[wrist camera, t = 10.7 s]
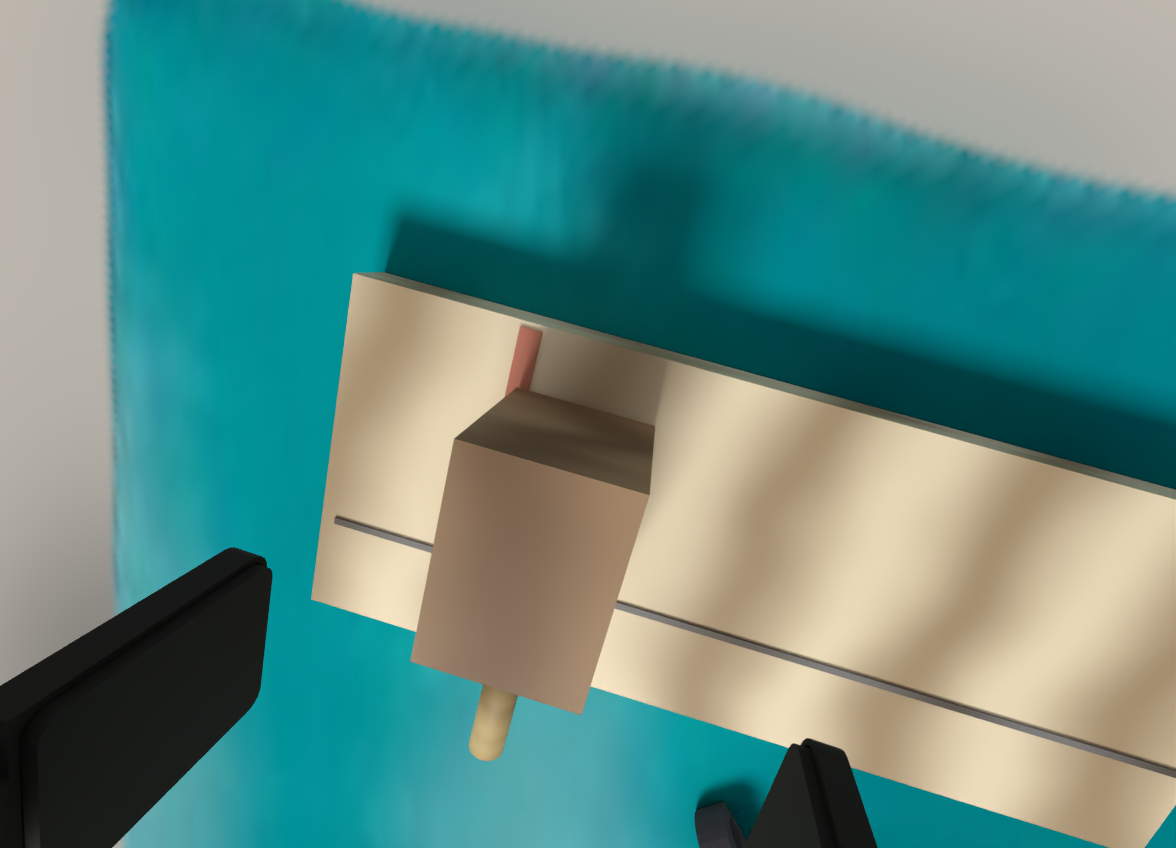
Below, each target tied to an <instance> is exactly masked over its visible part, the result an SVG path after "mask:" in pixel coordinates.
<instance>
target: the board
mask: <svg viewBox="0 0 1176 848" xmlns="http://www.w3.org/2000/svg"><path fill="white" fill-rule="evenodd" d="M517 387H518V388H522V389H525V390H529V391H532V392H536V393H540V394H543V395H547V396H550V397H554V398H557V399H561V400H564V401H568V402H571V403H575V404H578V405H582V406H586V407H589V408H593V409H596V410H600V411H603V412H607V413H610V414H614V415H617V416H621V417H624V418H628V419H631V420H635V421H639V422H642V423H646V424H649V425H653V426H655V435H654V448H653V460H652V473H651V485H650V496H649V499H648V502H647V506H646V509H645V512H644V515H643V518H642V522H641V525H640V528H639V531H638V535H637V538H636V541H635V544H634V547H633V551H632V554H631V557H630V560H629V563H628V567H627V570H626V573H625V576H624V580H623V583H622V586H621V589H620V592H619V596H618V599H617V602H616V605H615V609H614V612H613V615H612V618H611V621H610V625H609V628H608V631H607V634H606V637H605V641H604V644H603V647H602V650H601V654H600V657H599V660H598V663H597V666H596V670H595V673H594V676H593V679H592V682H591V686H592V687H595V688H598V689H602V690H605V691H608V692H611V693H614V694H618V695H621V696H624V697H627V698H631V699H634V700H637V701H640V702H643V703H647V704H650V705H653V706H656V707H659V708H663V709H666V710H669V711H672V712H676V713H679V714H682V715H685V716H688V717H692V718H695V719H698V720H701V721H704V722H708V723H711V724H714V725H717V726H721V727H724V728H727V729H730V730H733V731H737V732H740V733H743V734H746V735H749V736H753V737H756V738H759V739H762V740H766V741H769V742H772V743H775V744H778V745H782V746H785V747H788V748H789V747H790V745H791V744H793V743H795V744H798V745H801V743H802V742H803V740H805V739H806V738H810V739H813V740H816V741H819V742H822V743H825V744H828V745H831V746H834V747H837V748H840V749H842V750H843V751H844V752H845V753H846V755H847V757H848V760H849V763H850V767H852V768H856V769H859V770H862V771H865V772H868V773H872V774H875V775H878V776H881V777H884V778H888V779H891V780H894V781H897V782H901V783H904V784H907V785H910V786H913V787H917V788H920V789H923V790H926V791H929V792H933V793H936V794H939V795H942V796H946V797H949V798H952V799H955V800H958V801H962V802H965V803H968V804H971V805H974V806H978V807H981V808H984V809H987V810H991V811H994V812H997V813H1000V814H1003V815H1007V816H1010V817H1013V818H1016V819H1019V820H1023V821H1026V822H1029V823H1032V824H1036V825H1039V826H1042V827H1045V828H1048V829H1052V830H1055V831H1058V832H1061V833H1064V834H1068V835H1071V836H1074V837H1077V838H1081V839H1084V840H1087V841H1090V842H1093V843H1097V844H1100V845H1103V846H1106V847H1109V848H1144V847H1145V846H1146V845H1147V843H1148V842H1149V841H1150V839H1151V838H1152V836H1153V835H1154V834H1155V832H1156V831H1157V830H1158V828H1159V827H1160V825H1161V824H1162V823H1163V821H1164V820H1165V819H1166V817H1167V816H1168V815H1169V813H1170V812H1171V810H1172V809H1173V808H1174V806H1175V805H1176V490H1175V489H1171V488H1168V487H1164V486H1160V485H1157V484H1153V483H1149V482H1146V481H1142V480H1139V479H1135V478H1131V477H1128V476H1124V475H1120V474H1117V473H1113V472H1109V471H1106V470H1102V469H1098V468H1095V467H1091V466H1088V465H1084V464H1080V463H1077V462H1073V461H1069V460H1066V459H1062V458H1058V457H1055V456H1051V455H1047V454H1044V453H1040V452H1037V451H1033V450H1029V449H1026V448H1022V447H1018V446H1015V445H1011V444H1007V443H1004V442H1000V441H996V440H993V439H989V438H986V437H982V436H978V435H975V434H971V433H967V432H964V431H960V430H956V429H953V428H949V427H946V426H942V425H938V424H935V423H931V422H927V421H924V420H920V419H916V418H913V417H909V416H905V415H902V414H898V413H895V412H891V411H887V410H884V409H880V408H876V407H873V406H869V405H865V404H862V403H858V402H854V401H851V400H847V399H844V398H840V397H836V396H833V395H829V394H825V393H822V392H818V391H814V390H811V389H807V388H803V387H800V386H796V385H793V384H789V383H785V382H782V381H778V380H774V379H771V378H767V377H763V376H760V375H756V374H752V373H749V372H745V371H742V370H738V369H734V368H731V367H727V366H723V365H720V364H716V363H712V362H709V361H705V360H702V359H698V358H694V357H691V356H687V355H683V354H680V353H676V352H672V351H669V350H665V349H661V348H658V347H654V346H651V345H647V344H643V343H640V342H636V341H632V340H629V339H625V338H621V337H618V336H614V335H610V334H607V333H603V332H600V331H596V330H592V329H589V328H585V327H581V326H578V325H574V324H570V323H567V322H563V321H559V320H556V319H552V318H549V317H545V316H541V315H538V314H534V313H530V312H527V311H523V310H519V309H516V308H512V307H508V306H505V305H501V304H498V303H494V302H490V301H487V300H483V299H479V298H476V297H472V296H468V295H465V294H461V293H457V292H454V291H450V290H447V289H443V288H439V287H436V286H432V285H428V284H425V283H421V282H417V281H414V280H410V279H407V278H403V277H399V276H396V275H392V274H388V273H385V272H375V273H353V280H352V288H351V295H350V303H349V311H348V319H347V326H346V334H345V342H344V350H343V357H342V365H341V373H340V381H339V388H338V396H337V404H336V412H335V419H334V427H333V435H332V443H331V450H330V458H329V466H328V474H327V482H326V489H325V497H324V505H323V513H322V520H321V528H320V536H319V544H318V551H317V559H316V567H315V575H314V582H313V590H312V598H311V599H312V600H316V601H319V602H322V603H325V604H328V605H332V606H335V607H338V608H341V609H344V610H348V611H351V612H354V613H357V614H361V615H364V616H367V617H370V618H373V619H377V620H380V621H383V622H386V623H389V624H393V625H396V626H399V627H402V628H406V629H409V630H412V631H415V632H416V631H417V626H418V621H419V615H420V610H421V605H422V600H423V595H424V590H425V585H426V580H427V574H428V569H429V564H430V559H431V554H432V549H433V544H434V539H435V533H436V528H437V523H438V518H439V513H440V508H441V503H442V498H443V492H444V487H445V482H446V477H447V472H448V467H449V462H450V457H451V451H452V446H453V441H454V438H455V437H457V436H458V435H459V434H460V433H461V432H463V431H464V430H465V429H466V428H468V427H469V426H470V425H471V424H472V423H474V422H475V421H476V420H477V419H479V418H480V417H481V416H482V415H483V414H485V413H486V412H487V411H488V410H490V409H491V408H492V407H493V406H494V405H496V404H497V403H498V402H499V401H501V400H502V399H503V398H504V397H505V396H507V395H508V394H509V393H510V392H512V391H513V390H514V389H515V388H517Z"/></svg>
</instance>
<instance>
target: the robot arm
mask: <svg viewBox="0 0 1176 848" xmlns="http://www.w3.org/2000/svg"><path fill="white" fill-rule="evenodd" d="M271 584H272V571H271V569H270V568H267V562H266V560H265V558H263V557H262V556H259V555H256V554H253V553H250V552H247V551H244V550H241V549H238V548H228V549H226V550H224V551H222V552H221V553H219V554H217V555H216V556H214V557H212V558H211V559H209V560H207V561H206V562H204V563H202V564H201V565H199V566H197V567H196V568H194V569H192V570H191V571H189V572H188V573H186V574H184V575H183V576H181V577H179V578H178V579H176V580H174V581H173V582H171V583H169V584H168V585H166V586H164V587H163V588H161V589H159V590H158V591H156V592H155V593H153V594H151V595H150V596H148V597H146V598H145V599H143V600H141V601H140V602H138V603H136V604H135V605H133V606H131V607H130V608H128V609H126V610H125V611H123V612H121V613H120V614H118V615H117V616H115V617H113V618H112V619H110V620H108V621H107V622H105V623H103V624H102V625H100V626H98V627H97V628H95V629H93V630H92V631H90V632H89V633H87V634H85V635H83V636H82V637H80V638H79V639H77V640H75V641H74V642H72V643H70V644H69V645H67V646H65V647H64V648H62V649H60V650H59V651H57V652H55V653H54V654H52V655H50V656H49V657H47V658H45V659H44V660H42V661H41V662H39V663H38V664H36V665H34V666H32V667H31V668H29V669H27V670H26V671H24V672H22V673H21V674H19V675H18V676H16V677H14V678H12V679H11V680H9V681H8V682H6V683H4V684H3V685H1V686H0V848H112V847H113V846H114V845H115V844H116V843H117V842H118V841H119V840H120V839H121V838H122V837H123V836H124V835H125V834H126V833H127V832H128V831H129V830H130V829H131V828H132V827H133V826H134V825H135V824H136V823H137V822H138V821H139V820H140V819H141V818H142V817H143V816H144V815H145V814H146V813H147V812H148V811H149V810H150V809H151V808H152V807H153V806H154V805H155V804H156V803H157V802H158V801H159V800H160V799H161V798H162V797H163V796H164V795H165V794H166V793H167V792H168V791H169V790H170V789H171V788H172V787H173V786H174V785H175V784H176V783H177V782H178V781H179V780H180V779H181V778H182V777H183V776H184V775H185V774H186V773H187V772H188V771H189V770H190V769H191V768H192V767H193V766H194V765H195V764H196V763H197V762H198V761H199V760H200V759H201V758H202V757H203V756H204V755H205V754H206V753H207V752H208V751H209V750H210V749H211V748H212V747H213V746H214V745H215V744H216V743H217V742H218V741H219V740H220V739H221V738H222V737H223V736H224V735H225V734H226V733H227V732H228V731H229V730H230V729H231V728H232V727H233V726H234V725H235V724H236V723H237V722H238V721H239V720H240V719H241V718H242V717H243V716H244V715H245V714H246V713H247V712H248V710H249V709H250V708H251V707H252V705H253V704H254V702H255V700H256V699H257V697H258V694H259V691H260V687H261V677H262V668H263V659H264V649H265V640H266V631H267V621H268V612H269V603H270V594H271ZM744 848H877V845H876V842H875V839H874V836H873V833H872V830H871V827H870V824H869V821H868V818H867V815H866V812H865V809H864V806H863V803H862V800H861V797H860V794H859V791H858V788H857V785H856V782H855V779H854V776H853V773H852V770H851V767H850V763H849V760H848V757H847V755H846V753H845V752H844V751H843V750H842V749H840V748H837V747H834V746H831V745H828V744H825V743H822V742H819V741H816V740H813V739H810V738H806V739H805V740H803V742H802V743H801V745H798V744H795V743H793V744H791V745H790V747H789V749H788V751H787V753H786V755H785V757H784V760H783V762H782V764H781V766H780V769H779V771H778V773H777V775H776V777H775V780H774V782H773V784H772V786H771V789H770V791H769V793H768V795H767V797H766V800H765V802H764V804H763V806H762V809H761V811H760V813H759V815H758V817H757V820H756V822H755V824H754V826H753V829H752V831H751V833H750V835H749V837H748V840H747V842H746V844H745V846H744Z"/></svg>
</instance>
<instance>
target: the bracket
mask: <svg viewBox="0 0 1176 848" xmlns="http://www.w3.org/2000/svg"><path fill="white" fill-rule="evenodd" d="M695 828H696V834H697V839H698V843H699V847H700V848H744V846H745V844H746V842H747V841H746V839H745V837H744V835H743V834H742V832H741V830H740V828H739V827H738V825H737V823H736V821H735V820H734V818H733V816H732V815H731V813H730V811H729V809H728V808H727V806H726V804H725V803H724V802H720V803H716V804H713V805H710V806H706V807H703V808H699V809H697V810H696V812H695Z"/></svg>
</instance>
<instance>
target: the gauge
mask: <svg viewBox="0 0 1176 848" xmlns="http://www.w3.org/2000/svg"><path fill="white" fill-rule="evenodd" d="M654 435H655V426H653V425H649V424H646V423H642V422H639V421H635V420H631V419H628V418H624V417H621V416H617V415H614V414H610V413H607V412H603V411H600V410H596V409H593V408H589V407H586V406H582V405H578V404H575V403H571V402H568V401H564V400H561V399H557V398H554V397H550V396H547V395H543V394H540V393H536V392H532V391H529V390H525V389H522V388H518V387H517V388H515V389H514V390H513V391H512V392H510V393H509V394H508V395H507V396H505V397H504V398H503V399H502V400H501V401H499V402H498V403H497V404H496V405H494V406H493V407H492V408H491V409H490V410H488V411H487V412H486V413H485V414H483V415H482V416H481V417H480V418H479V419H477V420H476V421H475V422H474V423H472V424H471V425H470V426H469V427H468V428H466V429H465V430H464V431H463V432H461V433H460V434H459V435H458V436H457V437H455V438H454V441H453V446H452V451H451V457H450V462H449V467H448V472H447V477H446V482H445V487H444V492H443V498H442V503H441V508H440V513H439V518H438V523H437V528H436V533H435V539H434V544H433V549H432V554H431V559H430V564H429V569H428V574H427V580H426V585H425V590H424V595H423V600H422V605H421V610H420V615H419V621H418V626H417V631H416V636H415V641H414V646H413V651H412V656H411V662H414V663H417V664H420V665H424V666H427V667H430V668H433V669H436V670H440V671H443V672H446V673H449V674H452V675H455V676H459V677H462V678H465V679H468V680H471V681H475V682H478V683H481V684H483V688H482V692H481V696H480V700H479V704H478V708H477V712H476V716H475V721H474V725H473V729H472V733H471V737H470V741H469V749H470V751H471V753H472V754H473V755H474V756H475V757H476V758H478V759H480V760H484V761H491V760H494V759H497V758H498V757H499V756H500V755H501V754H502V752H503V749H504V745H505V742H506V738H507V734H508V730H509V727H510V723H511V719H512V715H513V712H514V708H515V704H516V700H517V697H518V695H519V696H522V697H525V698H529V699H532V700H535V701H538V702H541V703H544V704H548V705H551V706H554V707H557V708H560V709H564V710H567V711H570V712H573V713H576V714H579V715H582V711H583V708H584V705H585V702H586V699H587V695H588V692H589V689H590V686H591V682H592V679H593V676H594V673H595V670H596V666H597V663H598V660H599V657H600V654H601V650H602V647H603V644H604V641H605V637H606V634H607V631H608V628H609V625H610V621H611V618H612V615H613V612H614V609H615V605H616V602H617V599H618V596H619V592H620V589H621V586H622V583H623V580H624V576H625V573H626V570H627V567H628V563H629V560H630V557H631V554H632V551H633V547H634V544H635V541H636V538H637V535H638V531H639V528H640V525H641V522H642V518H643V515H644V512H645V509H646V506H647V502H648V499H649V496H650V485H651V473H652V460H653V448H654Z"/></svg>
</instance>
